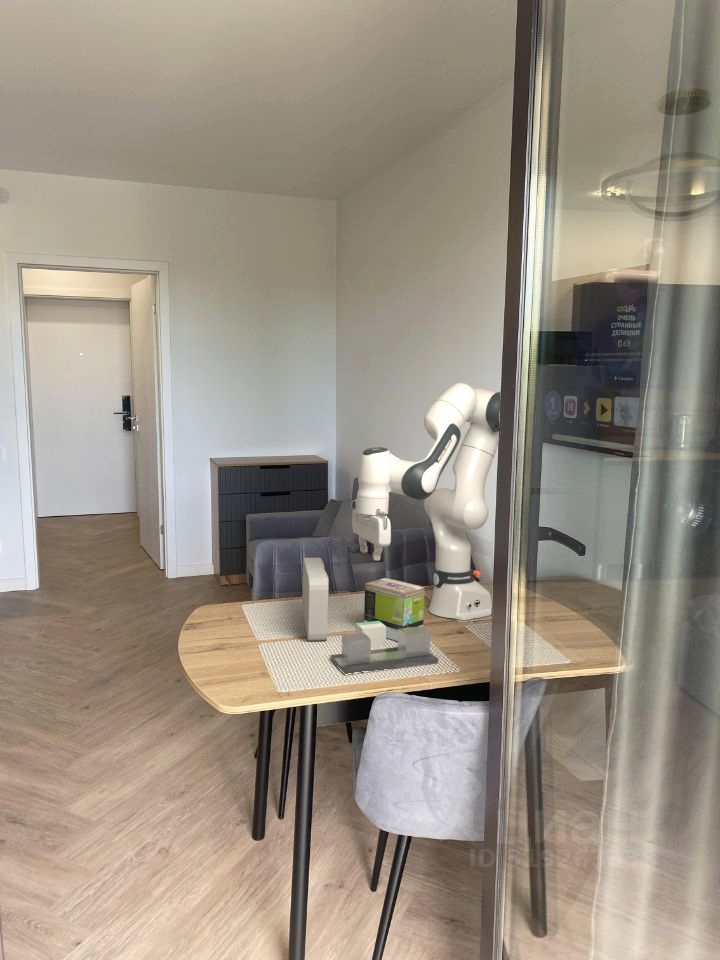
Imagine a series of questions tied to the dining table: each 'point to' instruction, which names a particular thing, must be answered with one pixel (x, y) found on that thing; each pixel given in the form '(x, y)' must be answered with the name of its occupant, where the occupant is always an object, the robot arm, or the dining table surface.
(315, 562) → the rounded white slab
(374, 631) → the block
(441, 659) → the dining table surface
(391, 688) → the dining table surface
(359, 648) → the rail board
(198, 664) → the dining table surface
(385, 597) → the tea box
